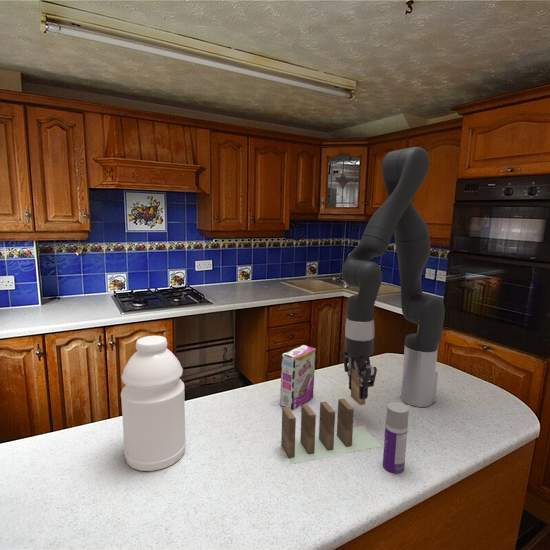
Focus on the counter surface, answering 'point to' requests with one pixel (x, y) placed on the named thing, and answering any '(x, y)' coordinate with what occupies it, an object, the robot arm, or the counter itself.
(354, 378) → the domino
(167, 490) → the counter surface
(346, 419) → the domino
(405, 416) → the container
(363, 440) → the mat
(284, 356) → the candy bar box
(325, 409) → the domino
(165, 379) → the bottle
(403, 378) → the robot arm
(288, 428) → the domino
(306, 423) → the domino
